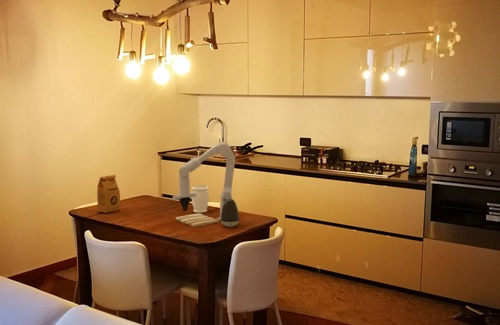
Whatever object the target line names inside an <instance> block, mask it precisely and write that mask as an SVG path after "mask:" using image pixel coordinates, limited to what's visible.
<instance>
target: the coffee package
mask: <svg viewBox="0 0 500 325" xmlns="http://www.w3.org/2000/svg"><path fill="white" fill-rule="evenodd" d="M116 178H117V177H116V174H112V175H107V176H100V177H99V180H98V183H97V191H96V192H97V193H96V194H97V196H96V198H97V199H96V200H97V212H98V213H104V214H106V213H113V212H114V213H115V212H119V211H121V207H122V206H121V192H120V187H119V185H118V184H117V180H116Z"/></svg>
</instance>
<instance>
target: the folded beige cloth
mask: <svg viewBox="0 0 500 325" xmlns="http://www.w3.org/2000/svg"><path fill="white" fill-rule="evenodd" d="M216 223H220V220H219V219H217V218H214V217H211V216H208V217H207V218H202V219H196V220H191V221H186V223H185V224H186V225H189V226H191V227H193V228H194V227H195V228H196V227H201V226H207V225H211V224H216Z"/></svg>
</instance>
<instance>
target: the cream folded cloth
mask: <svg viewBox="0 0 500 325" xmlns="http://www.w3.org/2000/svg"><path fill="white" fill-rule="evenodd" d="M207 217H209V216H207V215H204V214H202V213H197V212H196V213H192V214H186V215H182V216H175V220H176V221H179V222H181V223H184V224H186V221H191V220H196V219H202V218H207Z"/></svg>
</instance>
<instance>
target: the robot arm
mask: <svg viewBox="0 0 500 325" xmlns="http://www.w3.org/2000/svg"><path fill="white" fill-rule="evenodd" d="M218 154H219V155H221V156H223V157H224V159H225V160H226V165H225V172H224V173H225V174H224V183H223V190H222V192H221V194H220V201H221V202H220V203H219V214H220V215H219V217H217V218H216V219H217V220H219V221H221V211H222V208H223V205H224V203H225V201H224V199H226V200H227V199H233V195H232V188H233V179H234V172H235V163H236V156H235V154H234V152H233V150H232V148H231V146H230V145H229V144H228V143H227V142H225V141H221V142H219V143H217V144H215V145H214V146H212V147H210V148H209V149H207V150H206V151H205V152H204V153H202V154H201V155H200V156H199V157H191V158H190V160H189V161H187V162H186V163H183V165H181V166H180V167H179V169H178V174H179V179H178V183H179V185H178V186H179V187H178V188H179V194H177V195H172V200H173V201H176V200H178V201H179V202H180V205H181V208H182V210H183V212H187V210H188V207H189V205H190V202H192V197H196V193H192V192H191V191H190V190H191V188H190V183H191V182H190V173H192V172H193V171H195V170H197V169H198V168H199V167H201V165H202V162H204V161H206V160H208V159H209V158H210V157H211V156H213V155H218Z"/></svg>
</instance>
